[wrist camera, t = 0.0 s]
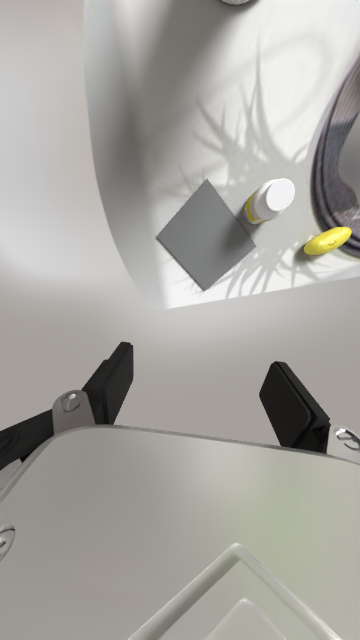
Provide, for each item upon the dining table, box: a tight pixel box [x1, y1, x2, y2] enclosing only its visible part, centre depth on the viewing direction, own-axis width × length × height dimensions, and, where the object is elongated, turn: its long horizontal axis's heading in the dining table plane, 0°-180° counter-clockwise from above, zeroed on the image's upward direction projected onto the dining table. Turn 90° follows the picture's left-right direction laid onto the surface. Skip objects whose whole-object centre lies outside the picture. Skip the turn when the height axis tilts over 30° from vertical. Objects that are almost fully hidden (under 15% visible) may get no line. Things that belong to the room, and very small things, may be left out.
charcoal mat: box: [157, 179, 256, 290], centre depth 36 cm, size 14×16×1 cm
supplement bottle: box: [244, 178, 295, 224], centre depth 29 cm, size 5×5×10 cm
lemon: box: [304, 227, 351, 255], centre depth 33 cm, size 4×8×4 cm, turn 112°
